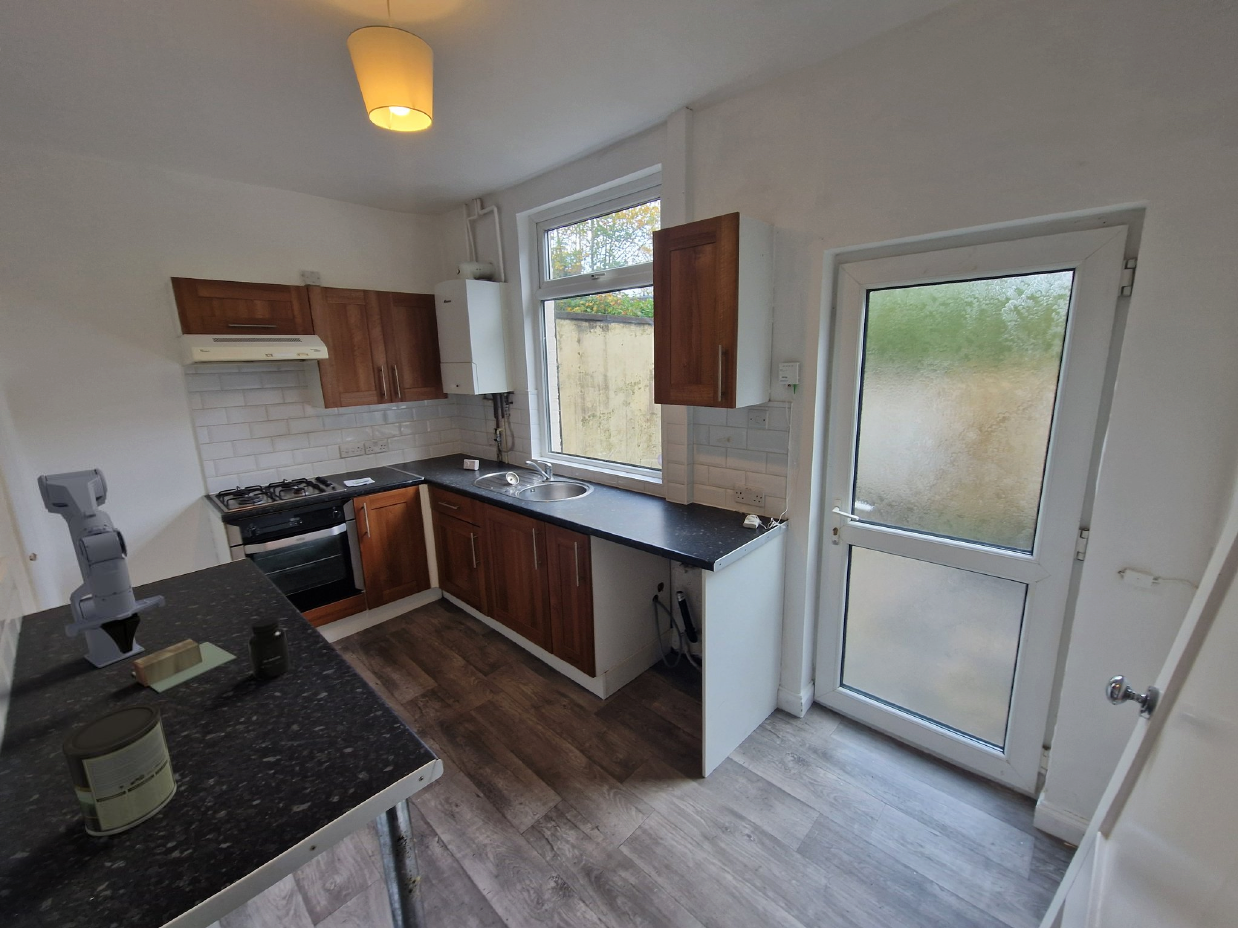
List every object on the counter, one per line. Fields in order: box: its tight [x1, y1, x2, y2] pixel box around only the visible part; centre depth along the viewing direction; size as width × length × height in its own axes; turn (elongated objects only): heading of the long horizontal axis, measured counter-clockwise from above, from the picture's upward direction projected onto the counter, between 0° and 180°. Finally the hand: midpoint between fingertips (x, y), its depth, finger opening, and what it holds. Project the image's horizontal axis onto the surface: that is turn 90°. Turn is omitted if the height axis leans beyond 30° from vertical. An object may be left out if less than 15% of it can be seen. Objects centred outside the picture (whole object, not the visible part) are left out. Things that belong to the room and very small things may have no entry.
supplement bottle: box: [247, 616, 291, 681], centre depth 109 cm, size 7×7×12 cm
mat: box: [131, 641, 237, 694], centre depth 112 cm, size 14×14×1 cm
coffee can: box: [61, 703, 178, 837], centre depth 75 cm, size 10×10×14 cm
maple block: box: [132, 638, 202, 687], centre depth 110 cm, size 4×4×10 cm
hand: (126, 651), depth 103 cm, fingers closed
